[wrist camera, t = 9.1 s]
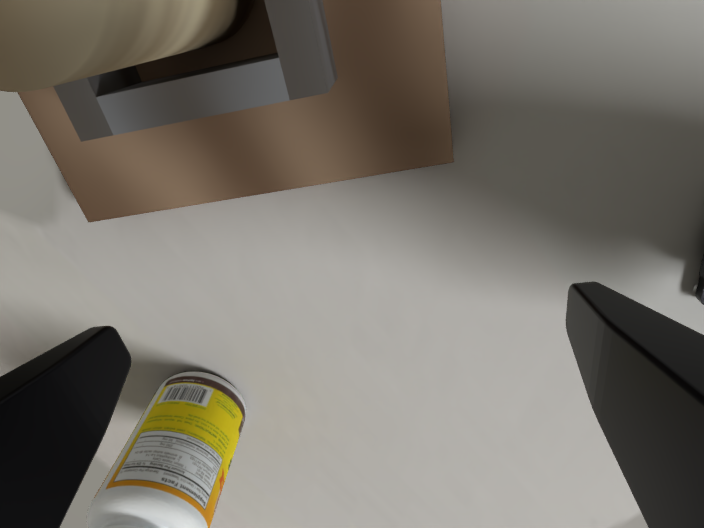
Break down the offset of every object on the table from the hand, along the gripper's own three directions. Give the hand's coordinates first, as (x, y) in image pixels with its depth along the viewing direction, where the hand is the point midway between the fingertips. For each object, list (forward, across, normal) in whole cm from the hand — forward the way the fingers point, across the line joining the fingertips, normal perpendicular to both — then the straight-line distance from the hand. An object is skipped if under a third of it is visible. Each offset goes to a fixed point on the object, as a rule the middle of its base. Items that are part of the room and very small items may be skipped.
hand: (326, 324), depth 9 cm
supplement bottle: (+12, +12, +14) cm, 22 cm away
